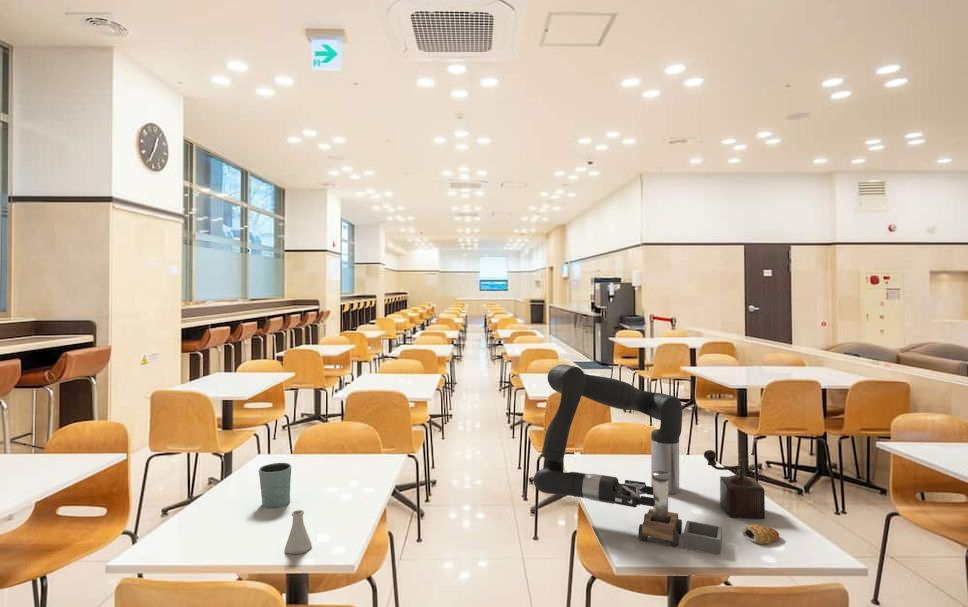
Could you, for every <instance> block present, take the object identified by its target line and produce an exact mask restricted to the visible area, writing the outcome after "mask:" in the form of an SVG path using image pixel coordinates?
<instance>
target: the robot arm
mask: <svg viewBox="0 0 968 607" xmlns="http://www.w3.org/2000/svg"><path fill="white" fill-rule="evenodd" d="M547 382H548V385H549V386H550V388H552V390H554V391H555V392H556V393H559V394H561V395H560V396H561V397H560V401H559V406H558V409H557V410H556V413H555V415H554V416H553V418H552V419H551V421H550V423H549V424H548V426H547V429H546V432H545V435H544V440H543V445H542V451H541V456H542V457H543V466H542V468H541V469H539V470H537V471H536V472H535V474H534V476H533V484H534V486H535V489H537V490H538V491H539V492H541V493H544V494H550V495H566V496H572V497H577V498H583V499H587V500H590V501H593V502H594V501H596V502H599V503H607V504H612V505H614V504H615V505H620V506H625V507H629V508H637V506H641V505H642V506H647V507H648V506H649V507H652V508H653V507H654V506H655V499H654V498H653V497H651V496H653V478H652V472H653V471H664V472H667V473H669V474H670V479H669V480H668V495H673V494H677V493H679V492H680V437H681V434H682V428H683V404H682V401H681V400H680V399H679V397H677V396H675V395H669V394H666V393H661V392H653V391H647V390H641V389H639V388H637V387H636V386H634V385H632V384H630V383H628V382H625V381H623V380H618V379H616V378H612V377H606V376H601V375H600V376H599V375H592V374H587V373H585V372H584V371H583V369H582V368H580V367H578V366H575V365H569V364H564V363H563V364H558V365H555V366H553V367H552V368H551V369H550V370H549V372H548V374H547ZM582 397H584V398H586V399H589V400H591V401H594V402H597V403H598V404H601V405H605V406H607V407H610V408H614V409H618V410H623V411H625V410H626V411H636V412H639V413H640V414H643V415H646V416H648V417H651V418H653V419H655V420H659V421H660V425H659V428H656V429H653V430H652V431H651V433H650V434H651V436H650V437H651V439H650V440H651V442H650V444H651V445H650V447H651V448H650V449H651V455H650V456H651V457H650V458H651V459H650V461H651V465H650V466H651V470H650V471H651V478H650V481H651V482H650V483H651V484H650V485H651V486H648V485H647V484H646V482H645V481H638V480H630V479H625V480H624V483H620V482H619V479H618V477H617V476H612V475H604V474H596V473H585V472H584V473H583V472H577V471H570V472H567V471H564V470H565V469H564V467H565V464H564V462H565V460H564V458H565V454H566V449H567V445H568V439H569V434H570V431H571V427H572V424H573V420H574V418H575V414H576V412H577V410H578V406H579V404H580V402H581V398H582ZM644 495H648V496H644ZM649 495H650V496H649Z"/></svg>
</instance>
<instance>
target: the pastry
mask: <svg viewBox="0 0 968 607" xmlns="http://www.w3.org/2000/svg"><path fill="white" fill-rule="evenodd" d="M741 534H742V536H743V537H744V538H745V539H746V540H749V541H751V542H752V543H754V544H757V545H765V544H767V545H768V544H772V543H775V542H778V541H779V539H780V533H779V532H778V530H776V529H774V528H773V527H768V526H765V525H760V524H755V523H754V524H749V525H747V526H745V527H744V528H743V530H742V531H741Z"/></svg>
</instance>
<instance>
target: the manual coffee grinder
mask: <svg viewBox="0 0 968 607" xmlns="http://www.w3.org/2000/svg"><path fill="white" fill-rule="evenodd" d="M703 457H704V459H706V460H707V465H708V466H711V467H712V468H714V469H715V470H718V471H719V470H720V471H729V470H737V469H739V471H736V472H735V474H734V475H729V476H720V477H719V506H720V508H721V509H722V510H723V512H724V513H725V514H726V516H727V517H729V518H731V519H746V520H765V519H766V516H765V515H766V514H765V513H766V510H765V509H766V506H765V504H766V502H765V500H766V499H765V494H766V493H765V488H764V487H763V486H762V485H761V484H760V483H759V482H758V481H757V480H756V479H755V478H753V477H750V476H746V475H745V474H744V467H745V464H744V462H745V460H743V459H742V458H741V459H739V463H738V464H737V465H734V466H733V465H732V466H723V467H722V466H717V464H718V462H716V458H717V453H716V452H715V451H714V450H712V449H708V450H705V451H704V452H703Z"/></svg>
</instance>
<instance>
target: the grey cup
mask: <svg viewBox="0 0 968 607" xmlns="http://www.w3.org/2000/svg"><path fill="white" fill-rule="evenodd" d="M258 477H259V484H260V485H259V486H260V491H261V492H260V494H261V495H260V496H261V504H262V505H261V506H262V508H265V507H266V508H265V509H277V507H279V508H283V507H285V506H288V504H290V501H291V478H292V464H290V463H287V462H277V463H276V462H275V463H274V462H273V463H269V464H266V465H263V466H261V467H259V469H258ZM282 506H283V507H282Z"/></svg>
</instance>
